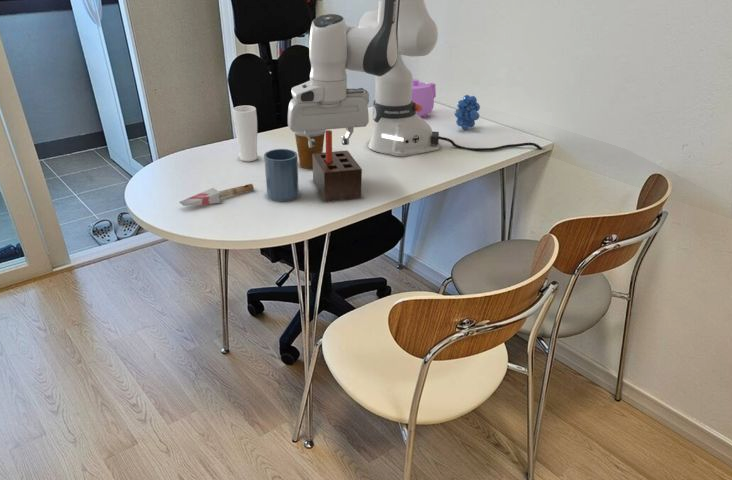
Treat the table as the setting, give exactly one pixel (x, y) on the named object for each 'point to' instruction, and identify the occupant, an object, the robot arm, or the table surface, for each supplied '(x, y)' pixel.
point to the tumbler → (281, 174)
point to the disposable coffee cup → (304, 149)
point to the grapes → (467, 112)
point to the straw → (328, 146)
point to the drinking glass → (246, 131)
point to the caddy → (337, 176)
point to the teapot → (423, 96)
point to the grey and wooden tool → (215, 195)
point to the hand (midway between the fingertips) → (328, 145)
